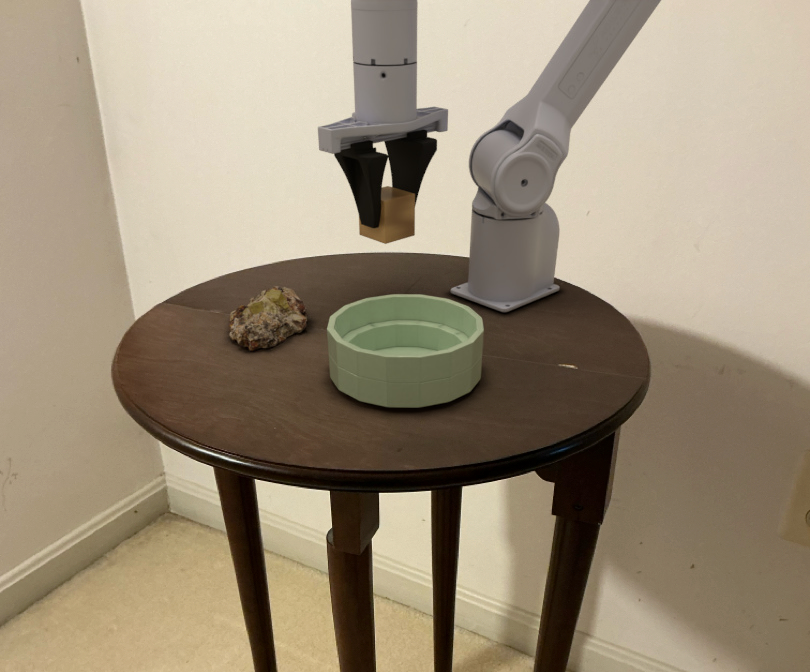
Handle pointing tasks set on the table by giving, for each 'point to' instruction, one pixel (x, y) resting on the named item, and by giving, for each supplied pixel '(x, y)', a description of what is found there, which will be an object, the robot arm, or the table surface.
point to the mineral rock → (268, 319)
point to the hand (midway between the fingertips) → (387, 220)
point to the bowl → (405, 350)
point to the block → (393, 217)
